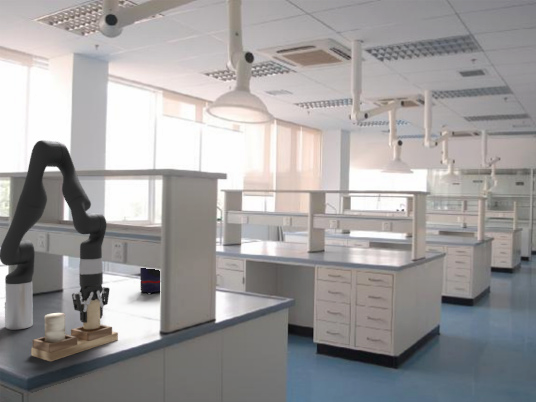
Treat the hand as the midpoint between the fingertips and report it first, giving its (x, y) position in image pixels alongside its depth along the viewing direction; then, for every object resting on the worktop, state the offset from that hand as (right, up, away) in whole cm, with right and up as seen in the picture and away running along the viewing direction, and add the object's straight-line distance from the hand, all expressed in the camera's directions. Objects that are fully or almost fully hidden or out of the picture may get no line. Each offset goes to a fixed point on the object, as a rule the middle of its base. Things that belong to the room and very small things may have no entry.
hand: (91, 320), depth 169 cm
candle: (0, -3, 0) cm, 3 cm away
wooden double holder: (-3, -8, -5) cm, 10 cm away
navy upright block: (0, -6, +85) cm, 85 cm away
